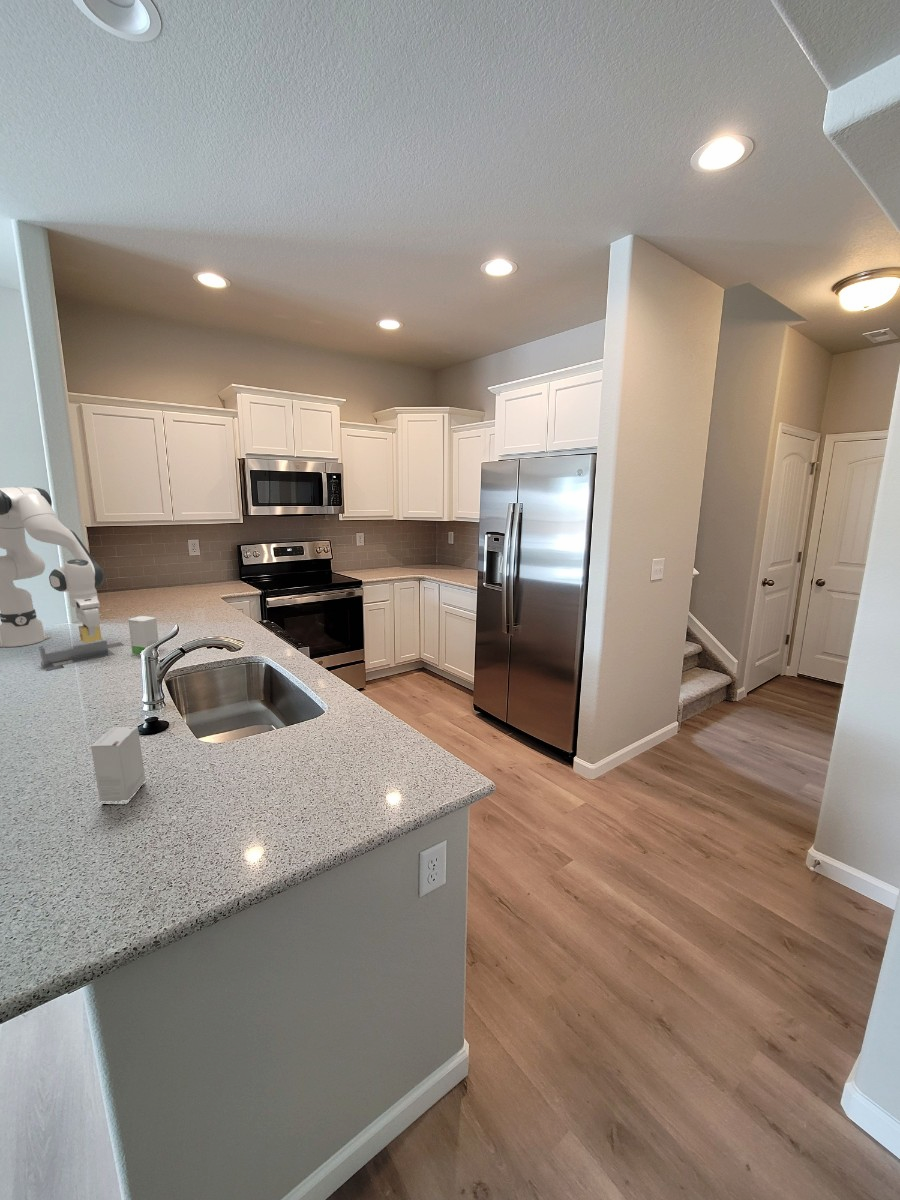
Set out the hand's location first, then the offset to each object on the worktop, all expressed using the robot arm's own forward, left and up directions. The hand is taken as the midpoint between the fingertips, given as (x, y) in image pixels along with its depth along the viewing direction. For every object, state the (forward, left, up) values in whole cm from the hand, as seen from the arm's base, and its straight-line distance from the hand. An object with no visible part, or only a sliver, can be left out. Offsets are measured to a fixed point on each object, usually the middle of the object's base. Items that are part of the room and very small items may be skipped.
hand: (90, 634), depth 196 cm
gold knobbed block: (0, 0, -3) cm, 3 cm away
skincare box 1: (+114, -19, -10) cm, 116 cm away
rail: (0, -5, -10) cm, 11 cm away
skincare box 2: (+11, +16, -10) cm, 22 cm away
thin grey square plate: (-9, +9, -10) cm, 16 cm away
